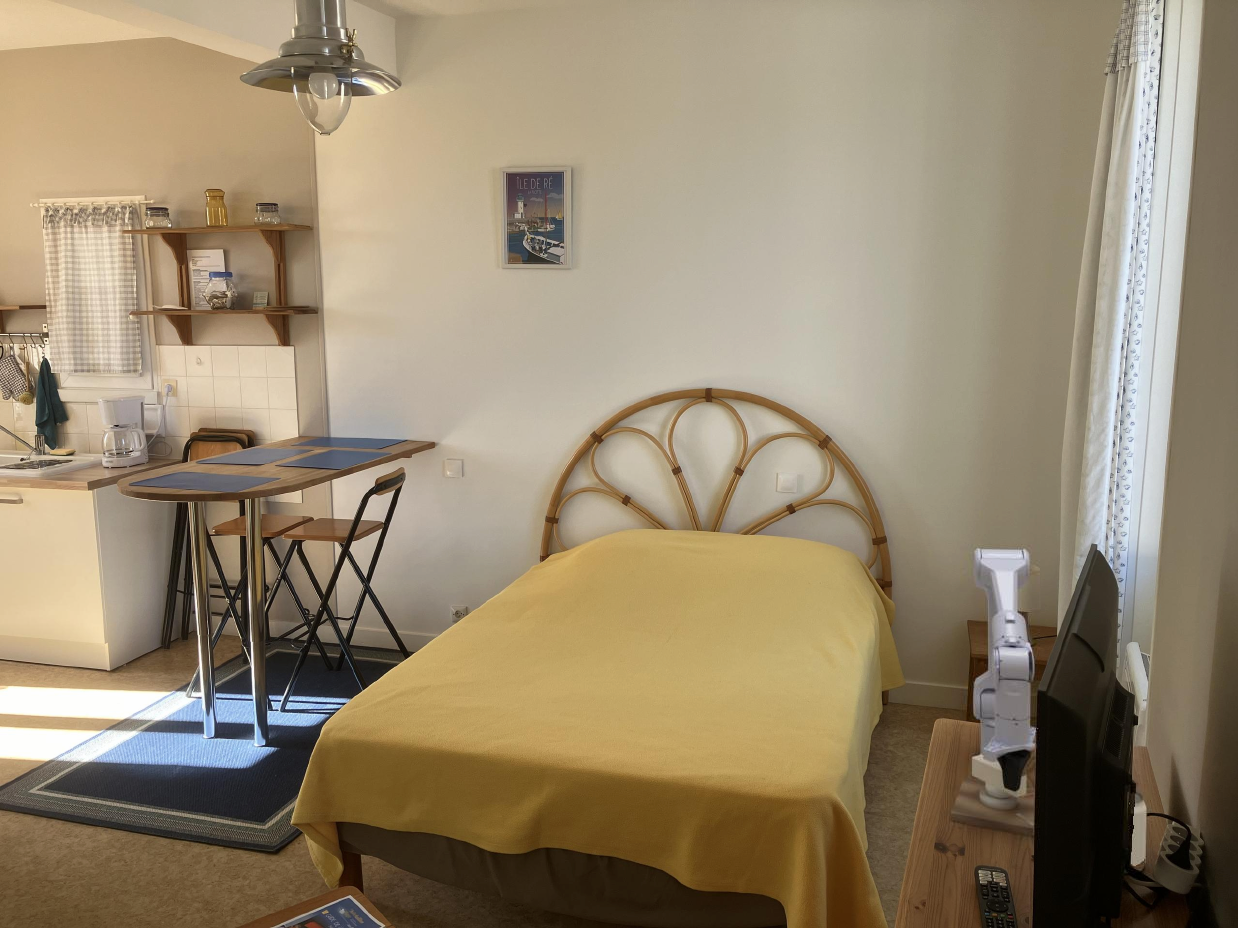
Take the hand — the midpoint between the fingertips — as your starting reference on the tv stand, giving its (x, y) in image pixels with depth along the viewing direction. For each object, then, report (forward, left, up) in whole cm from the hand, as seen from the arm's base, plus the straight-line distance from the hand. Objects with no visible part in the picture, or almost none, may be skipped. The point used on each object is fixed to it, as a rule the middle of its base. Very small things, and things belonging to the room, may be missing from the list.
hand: (1011, 788), depth 167 cm
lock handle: (-4, -3, -3) cm, 6 cm away
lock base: (-4, -3, -6) cm, 8 cm away
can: (+7, +17, -7) cm, 20 cm away
